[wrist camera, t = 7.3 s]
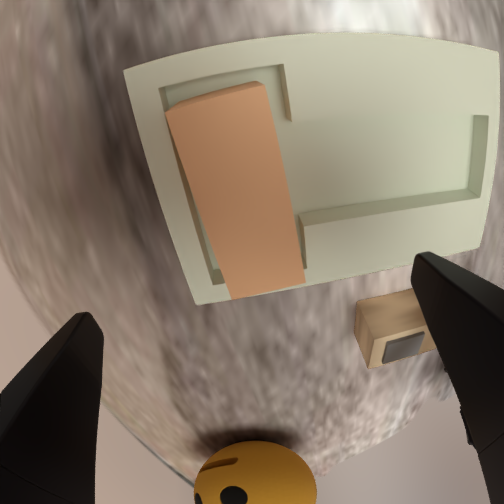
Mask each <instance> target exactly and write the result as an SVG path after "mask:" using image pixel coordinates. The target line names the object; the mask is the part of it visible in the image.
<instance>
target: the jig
mask: <svg viewBox="0 0 504 504" xmlns="http://www.w3.org/2000/svg"><path fill="white" fill-rule="evenodd" d="M123 73H124V77H125V81H126V85H127V89H128V93H129V97H130V101H131V105H132V109H133V113H134V117H135V121H136V124H137V128H138V132H139V135H140V139H141V142H142V146H143V149H144V153H145V156H146V160H147V163H148V166H149V170H150V173H151V176H152V180H153V183H154V186H155V189H156V192H157V196H158V199H159V202H160V205H161V208H162V211H163V214H164V217H165V220H166V223H167V226H168V229H169V232H170V235H171V238H172V241H173V244H174V247H175V249H176V252H177V255H178V258H179V261H180V263H181V266H182V269H183V272H184V274H185V277H186V280H187V283H188V285H189V288H190V291H191V293H192V296H193V299H194V301H195V304H196V305H201V304H208V303H214V302H220V301H226V300H232V299H231V296H230V294H229V291H228V288H227V286H226V283H225V281H224V278H223V275H222V273H221V270H220V267H219V265H218V262H217V260H216V257H215V254H214V252H213V249H212V246H211V243H210V241H209V238H208V235H207V233H206V230H205V227H204V224H203V222H202V219H201V216H200V213H199V211H198V208H197V205H196V202H195V200H194V197H193V194H192V191H191V188H190V185H189V183H188V180H187V177H186V174H185V171H184V168H183V165H182V162H181V160H180V157H179V154H178V151H177V148H176V145H175V142H174V139H173V136H172V133H171V130H170V127H169V124H168V121H167V118H166V115H165V112H166V111H168V110H169V109H170V108H171V107H173V106H174V105H175V104H176V103H178V102H179V101H182V100H185V99H188V98H192V97H195V96H198V95H202V94H205V93H209V92H212V91H216V90H219V89H223V88H227V87H231V86H235V85H239V84H243V83H247V82H252V81H258V82H260V83H262V84H264V85H265V88H266V92H267V96H268V100H269V105H270V109H271V113H272V117H273V121H274V126H275V130H276V134H277V139H278V143H279V148H280V152H281V157H282V162H283V166H284V171H285V176H286V180H287V185H288V190H289V195H290V200H291V205H292V210H293V215H294V220H295V225H296V230H297V236H298V241H299V246H300V252H301V257H302V263H303V269H304V274H305V280H306V283H303V284H299V285H295V286H291V287H286V288H282V289H278V290H274V291H270V292H265V293H261V294H257V295H262V294H267V293H273V292H278V291H284V290H289V289H295V288H300V287H305V286H310V285H316V284H321V283H326V282H331V281H336V280H341V279H346V278H351V277H355V276H360V275H365V274H370V273H374V272H379V271H383V270H388V269H393V268H397V267H401V266H406V265H410V264H413V262H414V257H415V255H416V254H418V253H421V252H426V251H430V252H432V253H434V254H436V255H438V256H440V257H444V256H448V255H452V254H456V253H460V252H464V251H468V250H472V249H476V248H479V246H480V242H481V238H482V234H483V230H484V226H485V221H486V217H487V212H488V207H489V202H490V196H491V190H492V184H493V178H494V171H495V163H496V154H497V144H498V132H499V114H500V69H499V52H496V51H492V50H488V49H484V48H480V47H476V46H471V45H466V44H461V43H456V42H450V41H444V40H438V39H431V38H423V37H415V36H405V35H394V34H378V33H313V34H297V35H285V36H275V37H266V38H258V39H251V40H244V41H237V42H231V43H226V44H220V45H215V46H210V47H205V48H201V49H196V50H192V51H188V52H183V53H179V54H175V55H172V56H168V57H164V58H161V59H157V60H154V61H150V62H147V63H144V64H140V65H137V66H134V67H131V68H128V69H125V70H123ZM252 296H256V295H252ZM248 297H250V296H248Z"/></svg>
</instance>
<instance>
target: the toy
mask: <svg viewBox="0 0 504 504" xmlns="http://www.w3.org/2000/svg"><path fill="white" fill-rule="evenodd" d="M316 496H317V489H316V483H315V479H314V476H313V474H312V472H311V470H310V468H309V466H308V465H307V464H306V462H305V461H304V460H303V459H302V458H301V457H300V456H299V455H297V454H296V453H295V452H293V451H292V450H290V449H288V448H286V447H284V446H282V445H279V444H276V443H272V442H267V441H244V442H239V443H235V444H232V445H229V446H227V447H225V448H223V449H221V450H219V451H218V452H216V453H215V454H214V455H212V456H211V457H210V458H209V459H208V460H207V461H206V462H205V464H204V465H203V466H202V468H201V469H200V471H199V473H198V475H197V478H196V481H195V485H194V500H195V504H315V503H316Z"/></svg>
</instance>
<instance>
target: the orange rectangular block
mask: <svg viewBox="0 0 504 504" xmlns="http://www.w3.org/2000/svg"><path fill="white" fill-rule="evenodd" d="M165 115H166V118H167V121H168V124H169V127H170V130H171V133H172V136H173V139H174V142H175V145H176V148H177V151H178V154H179V157H180V160H181V162H182V165H183V168H184V171H185V174H186V177H187V180H188V183H189V185H190V188H191V191H192V194H193V197H194V200H195V202H196V205H197V208H198V211H199V213H200V216H201V219H202V222H203V224H204V227H205V230H206V233H207V235H208V238H209V241H210V243H211V246H212V249H213V252H214V254H215V257H216V260H217V262H218V265H219V267H220V270H221V273H222V275H223V278H224V281H225V283H226V286H227V288H228V291H229V294H230V296H231V299H232V300H235V299H239V298H244V297H248V296H252V295H257V294H261V293H265V292H270V291H274V290H278V289H282V288H286V287H291V286H295V285H299V284H303V283H306V280H305V274H304V269H303V263H302V257H301V252H300V246H299V241H298V236H297V230H296V225H295V220H294V215H293V210H292V205H291V200H290V195H289V190H288V185H287V180H286V176H285V171H284V166H283V162H282V157H281V152H280V148H279V143H278V139H277V134H276V130H275V126H274V121H273V117H272V113H271V109H270V105H269V100H268V96H267V92H266V88H265V85H264V84H262V83H260V82H258V81H252V82H247V83H243V84H239V85H235V86H231V87H227V88H223V89H219V90H216V91H212V92H209V93H205V94H202V95H198V96H195V97H192V98H188V99H185V100H182V101H179V102H178V103H176V104H175V105H174V106H173V107H171V108H170V109H169V110H168V111H166V112H165Z"/></svg>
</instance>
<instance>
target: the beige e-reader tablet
mask: <svg viewBox="0 0 504 504" xmlns="http://www.w3.org/2000/svg"><path fill="white" fill-rule="evenodd" d="M354 334H355V336H356V339H357V341H358V344H359V347H360V349H361V352H362V354H363V357H364V360H365V362H366V365H367V368H368V369H371V368H375V367H378V366H382V365H385V364H389V363H392V362H396V361H399V360H402V359H406V358H409V357H412V356H415V355H418V354H421V353H424V352H427V351H430V350H433V349H436V348H437V347H436V345H435V343H434V341H433V339H432V337H431V334H430V332H429V330H428V327H427V325H426V322H425V319H424V316H423V314H422V311H421V308H420V305H419V303H418V300H417V298H416V295H415V293H414V290H413V288H411V289H407V290H403V291H399V292H395V293H391V294H387V295H383V296H379V297H374V298H370V299H365V300H361V301H357V308H356V319H355V328H354Z"/></svg>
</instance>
